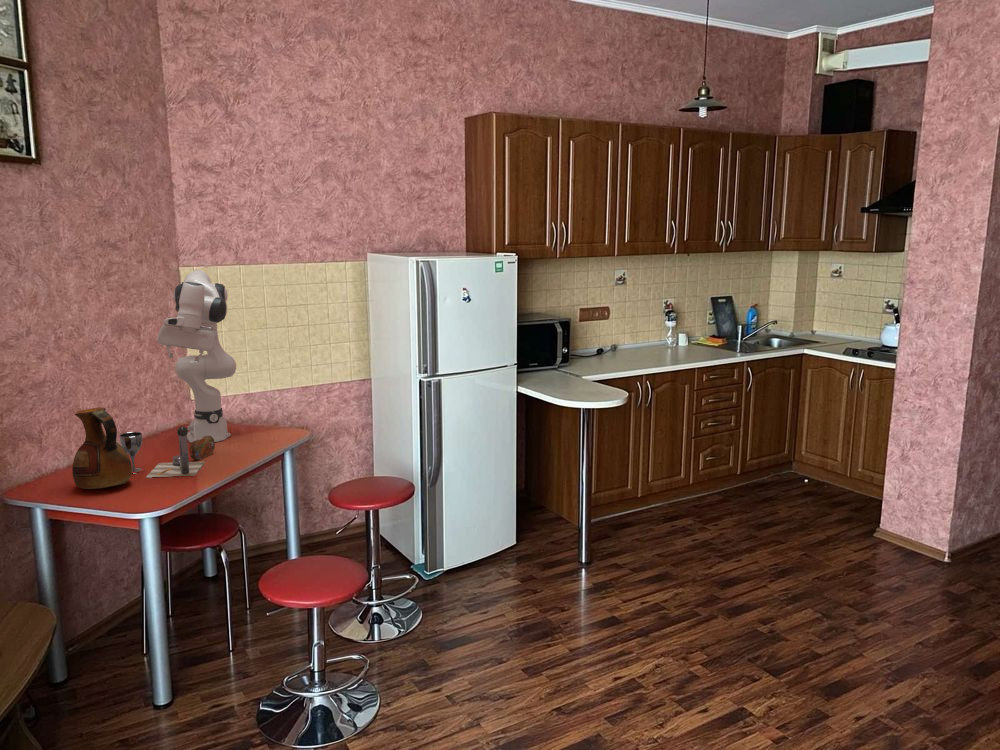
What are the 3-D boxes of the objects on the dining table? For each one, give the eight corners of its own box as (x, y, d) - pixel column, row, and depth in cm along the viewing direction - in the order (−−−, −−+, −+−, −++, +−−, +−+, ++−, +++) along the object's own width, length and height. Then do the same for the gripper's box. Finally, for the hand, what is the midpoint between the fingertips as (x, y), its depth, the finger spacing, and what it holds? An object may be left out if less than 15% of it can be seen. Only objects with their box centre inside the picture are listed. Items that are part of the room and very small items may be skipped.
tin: (195, 462, 317) (194, 442, 315) (188, 462, 317) (187, 442, 316) (215, 452, 331) (214, 433, 330) (209, 452, 332) (208, 433, 330)
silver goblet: (148, 470, 306) (146, 433, 303) (129, 475, 299) (126, 438, 296) (137, 466, 310) (134, 430, 307) (118, 471, 304) (115, 434, 301)
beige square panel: (159, 464, 313) (158, 462, 313) (205, 462, 316) (205, 461, 316) (146, 478, 296) (145, 476, 296) (195, 476, 298) (194, 474, 298)
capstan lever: (172, 461, 314) (168, 417, 310) (187, 459, 316) (184, 416, 313) (177, 474, 297) (174, 428, 294) (194, 472, 300) (191, 426, 297)
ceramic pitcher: (106, 475, 299) (99, 400, 293) (145, 482, 291) (139, 405, 286) (61, 490, 281) (53, 411, 275) (102, 498, 273) (95, 416, 268)
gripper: (216, 328, 298) (211, 364, 297) (159, 320, 289) (154, 356, 288) (218, 327, 293) (213, 363, 291) (160, 318, 283) (155, 355, 282)
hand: (183, 359), depth 290 cm, fingers open, 8 cm apart
